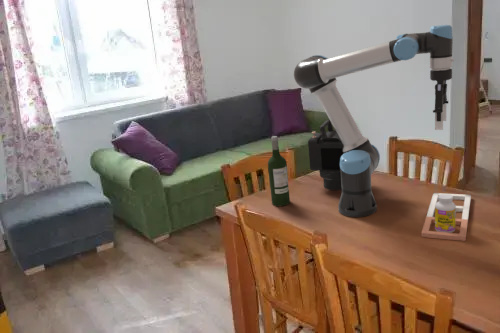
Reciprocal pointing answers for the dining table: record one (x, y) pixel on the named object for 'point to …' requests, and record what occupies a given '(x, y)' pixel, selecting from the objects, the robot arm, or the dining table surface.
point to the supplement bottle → (445, 214)
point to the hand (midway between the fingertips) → (440, 125)
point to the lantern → (326, 155)
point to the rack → (462, 222)
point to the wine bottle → (278, 176)
